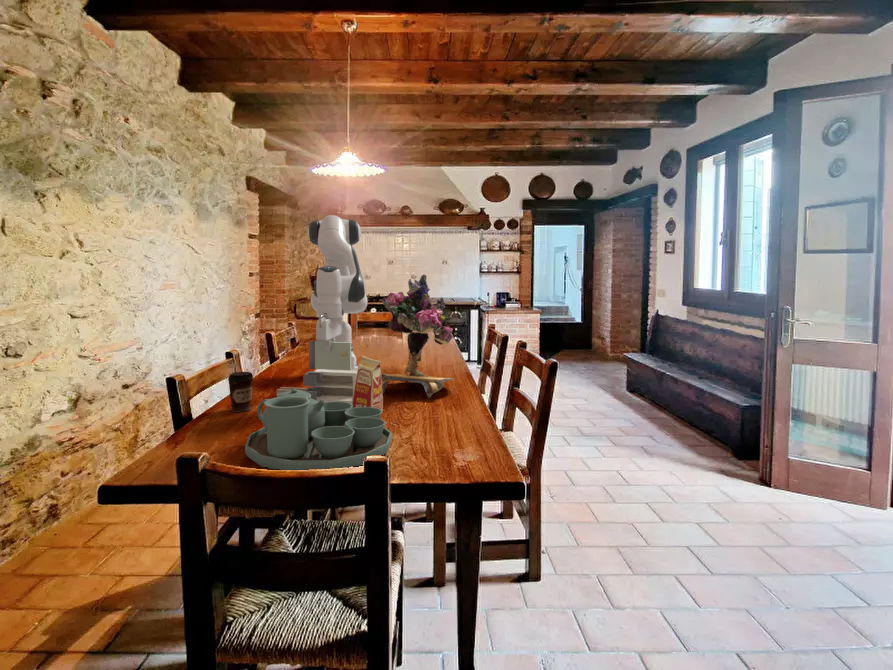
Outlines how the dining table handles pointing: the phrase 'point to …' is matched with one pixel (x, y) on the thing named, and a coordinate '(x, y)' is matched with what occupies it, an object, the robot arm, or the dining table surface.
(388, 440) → the tea set
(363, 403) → the milk carton
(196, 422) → the dining table surface
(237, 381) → the coffee cup
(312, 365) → the door
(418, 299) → the flower vase arrangement
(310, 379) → the cabinet
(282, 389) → the door rack
